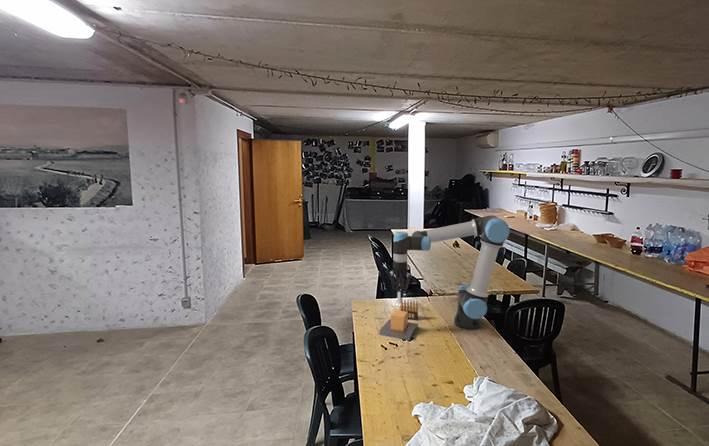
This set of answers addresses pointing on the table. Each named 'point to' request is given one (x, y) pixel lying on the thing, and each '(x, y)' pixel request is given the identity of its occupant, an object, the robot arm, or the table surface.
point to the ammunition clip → (410, 309)
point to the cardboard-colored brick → (399, 320)
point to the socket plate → (399, 334)
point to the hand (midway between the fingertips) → (399, 302)
